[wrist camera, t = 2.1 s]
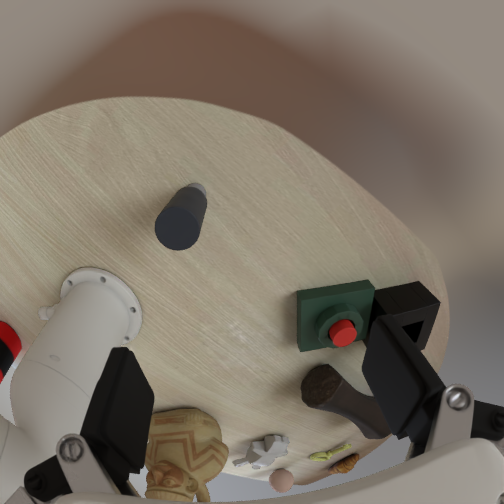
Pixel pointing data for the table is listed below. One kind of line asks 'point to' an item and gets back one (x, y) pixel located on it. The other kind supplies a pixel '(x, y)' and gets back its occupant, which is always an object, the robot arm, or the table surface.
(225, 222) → the table surface
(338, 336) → the power button
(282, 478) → the egg
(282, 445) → the white branched piece
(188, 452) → the ceramic vessel
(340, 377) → the dark brown bone
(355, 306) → the station
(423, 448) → the robot arm
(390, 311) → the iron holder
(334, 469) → the croissant
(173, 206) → the soldering iron
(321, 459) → the yellow-green curved piece
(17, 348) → the soda can
